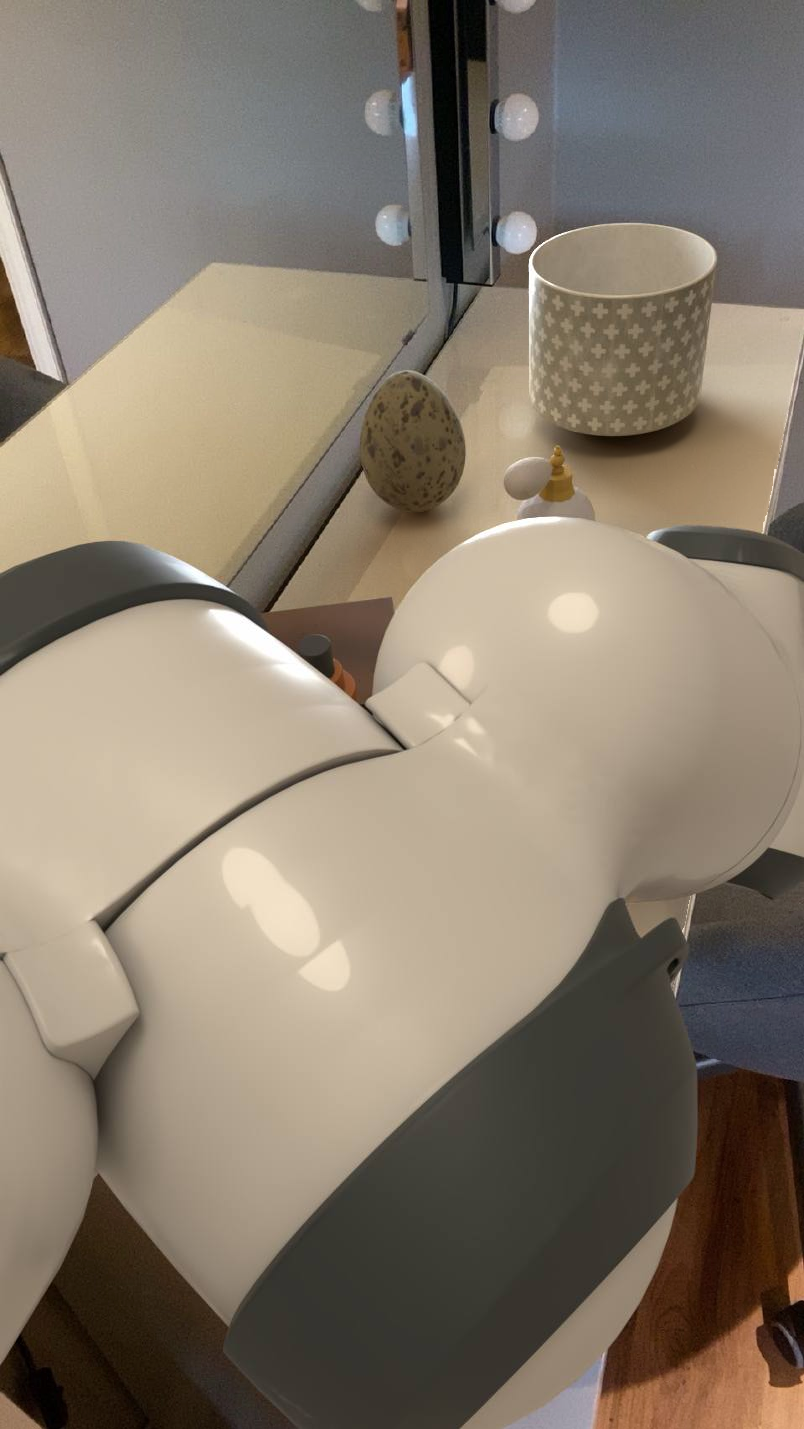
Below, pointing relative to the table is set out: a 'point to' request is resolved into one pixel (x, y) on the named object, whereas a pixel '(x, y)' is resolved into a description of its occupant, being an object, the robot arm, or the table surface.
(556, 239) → the planter
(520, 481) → the perfume bottle
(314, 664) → the lotion bottle
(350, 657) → the cabinet
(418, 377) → the decorative egg
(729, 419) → the table surface
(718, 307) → the table surface
